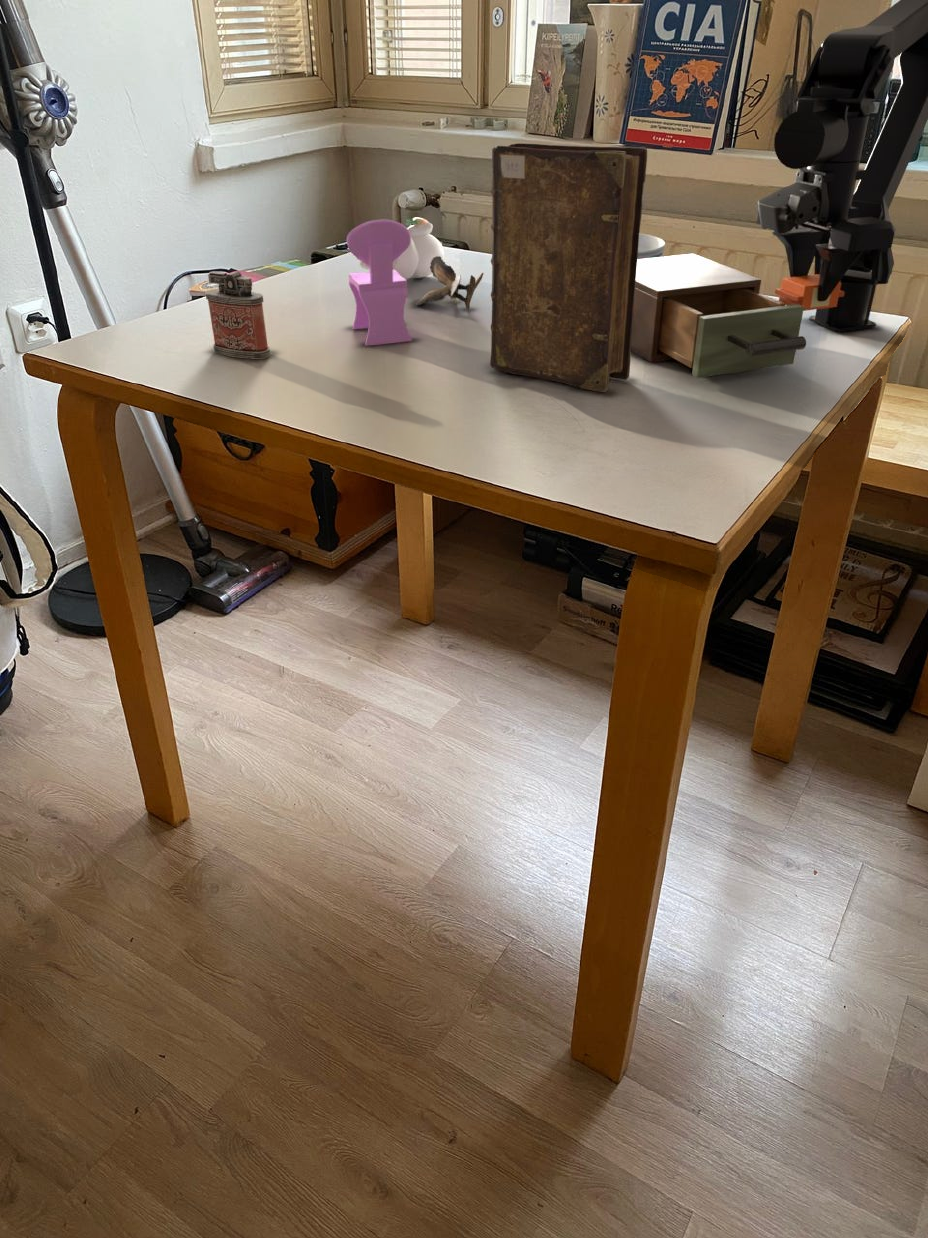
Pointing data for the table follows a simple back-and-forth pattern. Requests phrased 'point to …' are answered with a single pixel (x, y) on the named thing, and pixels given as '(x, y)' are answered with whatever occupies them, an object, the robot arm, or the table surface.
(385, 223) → the toy chair
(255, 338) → the lighter
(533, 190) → the book
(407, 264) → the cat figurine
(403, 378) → the table surface
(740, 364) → the drawer
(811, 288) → the orange box
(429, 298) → the eagle figurine
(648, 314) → the cabinet
